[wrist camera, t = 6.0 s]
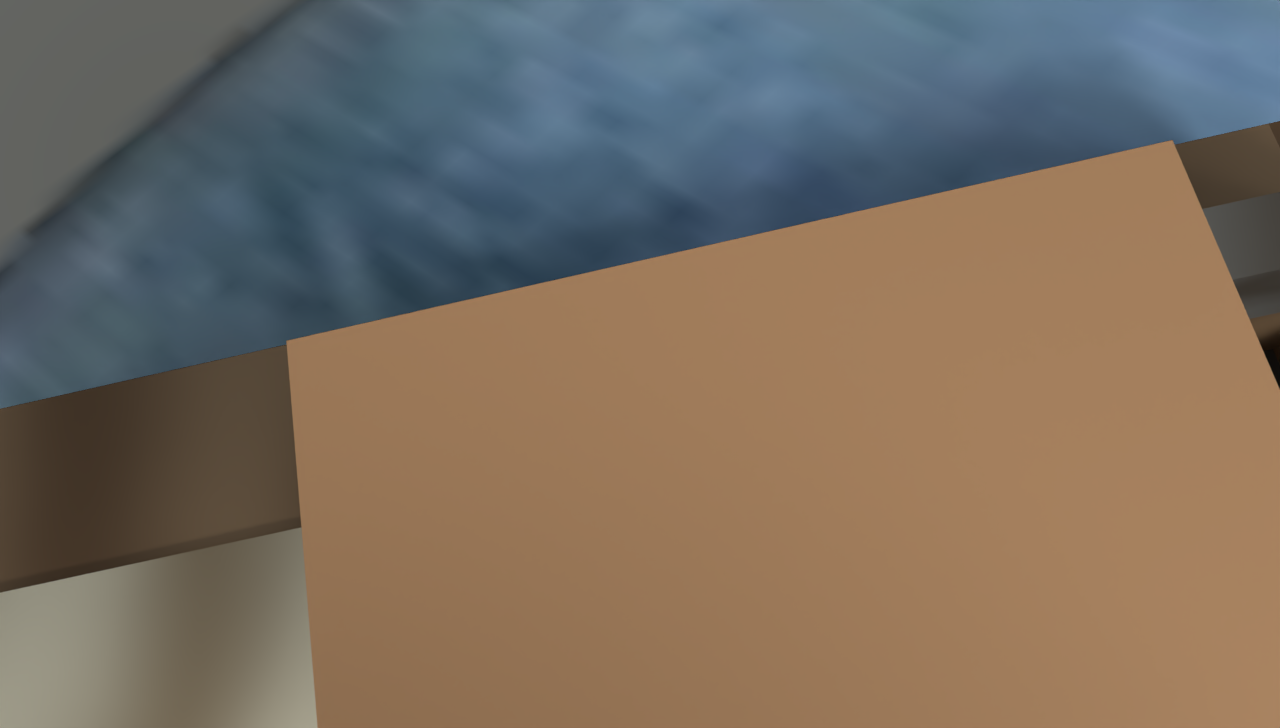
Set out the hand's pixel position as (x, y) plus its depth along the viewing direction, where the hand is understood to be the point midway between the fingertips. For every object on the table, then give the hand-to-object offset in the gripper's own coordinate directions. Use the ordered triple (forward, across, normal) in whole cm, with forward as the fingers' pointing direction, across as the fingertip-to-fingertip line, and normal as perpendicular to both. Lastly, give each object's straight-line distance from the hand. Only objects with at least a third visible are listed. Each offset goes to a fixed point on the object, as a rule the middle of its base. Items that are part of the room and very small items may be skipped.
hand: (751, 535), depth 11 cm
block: (+2, 0, +5) cm, 5 cm away
